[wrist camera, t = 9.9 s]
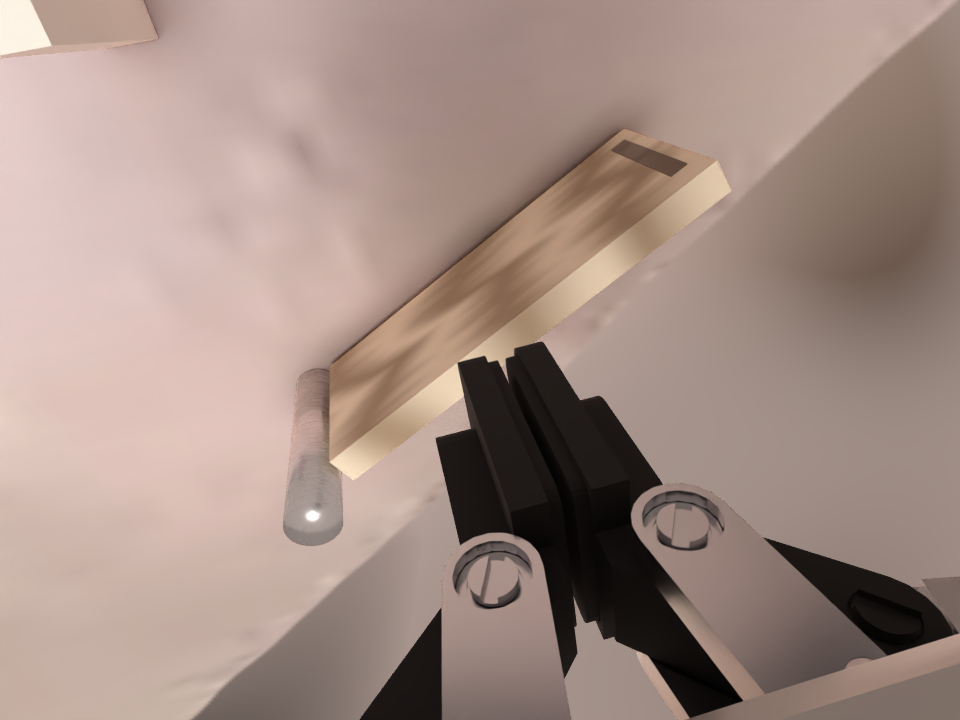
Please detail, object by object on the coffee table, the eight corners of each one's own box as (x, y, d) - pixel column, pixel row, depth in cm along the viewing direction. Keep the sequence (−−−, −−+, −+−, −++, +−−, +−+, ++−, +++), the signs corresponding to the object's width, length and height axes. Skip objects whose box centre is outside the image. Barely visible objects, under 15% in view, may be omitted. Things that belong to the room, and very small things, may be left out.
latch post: (136, -18, 23) (7, -48, 14) (158, 38, 24) (51, 45, 15) (84, -9, 23) (-82, -34, 14) (109, 48, 24) (-31, 61, 15)
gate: (349, 383, 34) (354, 481, 26) (329, 365, 33) (328, 461, 26) (637, 153, 31) (732, 191, 24) (623, 127, 30) (716, 159, 23)
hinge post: (332, 364, 33) (333, 495, 24) (344, 399, 35) (349, 536, 25) (290, 375, 33) (274, 511, 24) (303, 409, 34) (293, 552, 25)
